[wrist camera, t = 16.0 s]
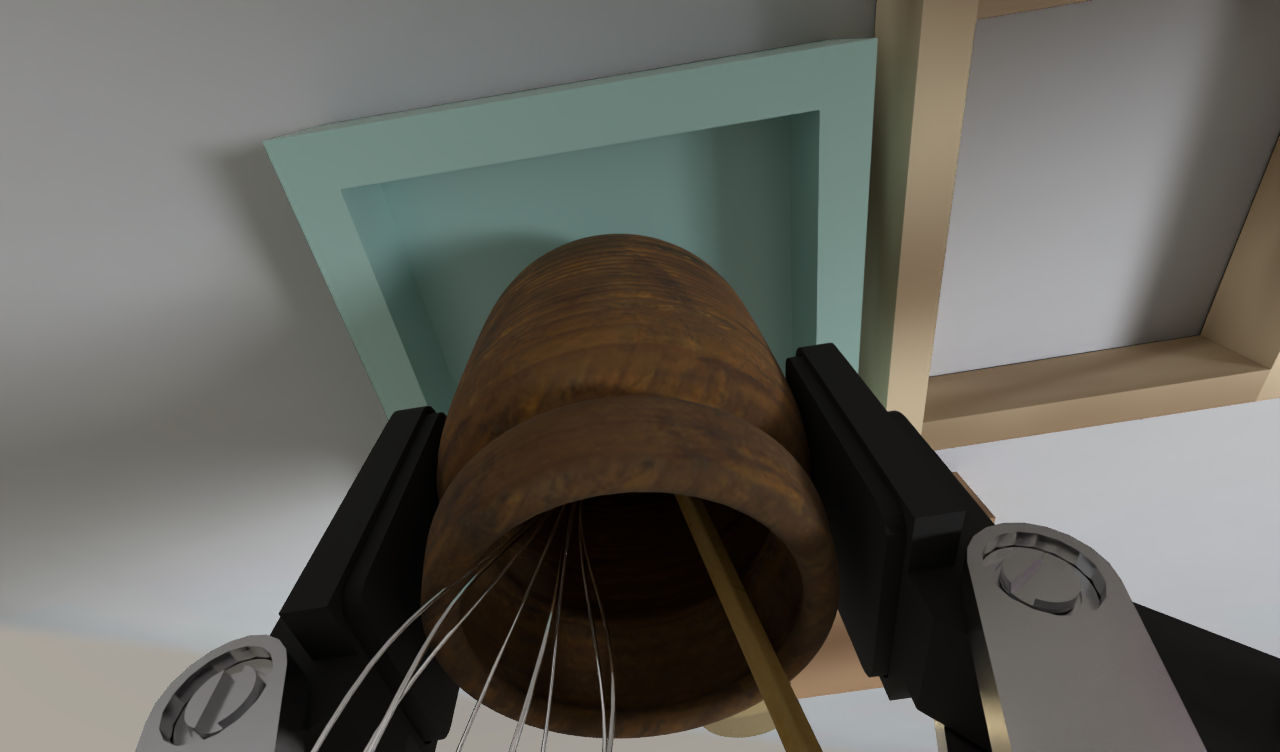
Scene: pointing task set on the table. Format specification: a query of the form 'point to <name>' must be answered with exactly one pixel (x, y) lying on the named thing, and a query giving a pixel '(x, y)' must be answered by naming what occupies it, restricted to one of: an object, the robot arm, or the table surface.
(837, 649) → the board
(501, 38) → the table surface
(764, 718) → the cylinder
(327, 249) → the tray
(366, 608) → the robot arm
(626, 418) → the utensil holder
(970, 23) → the wooden square frame
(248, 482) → the table surface
